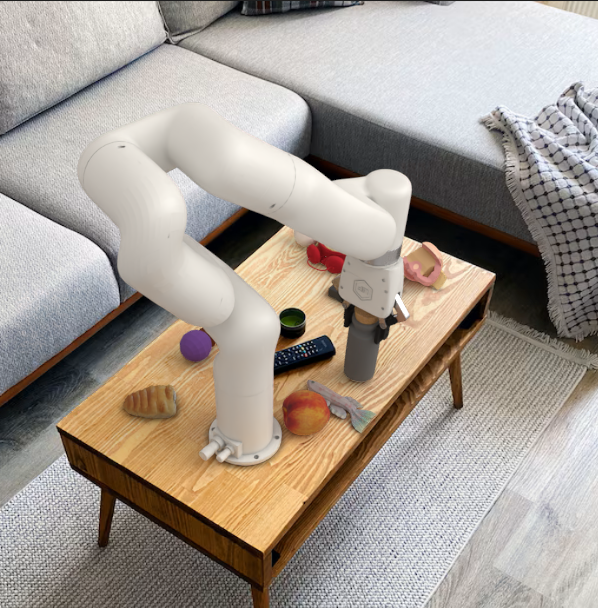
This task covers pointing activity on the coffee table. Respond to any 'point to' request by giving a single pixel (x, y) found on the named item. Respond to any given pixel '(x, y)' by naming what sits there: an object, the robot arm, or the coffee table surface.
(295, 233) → the egg
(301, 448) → the coffee table surface
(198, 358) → the kendama
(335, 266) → the alarm clock
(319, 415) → the fruit
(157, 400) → the pastry
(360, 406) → the fish
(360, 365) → the bottle
